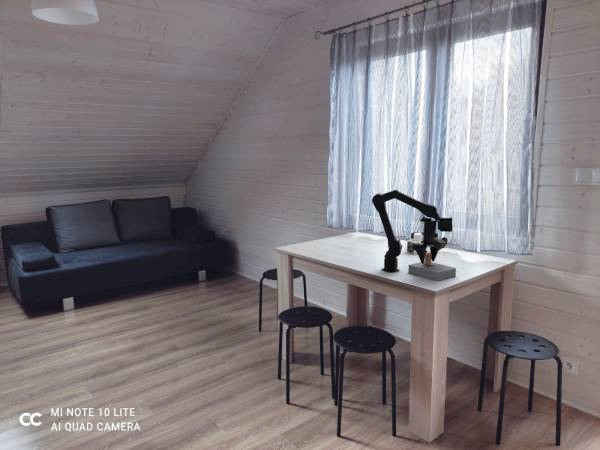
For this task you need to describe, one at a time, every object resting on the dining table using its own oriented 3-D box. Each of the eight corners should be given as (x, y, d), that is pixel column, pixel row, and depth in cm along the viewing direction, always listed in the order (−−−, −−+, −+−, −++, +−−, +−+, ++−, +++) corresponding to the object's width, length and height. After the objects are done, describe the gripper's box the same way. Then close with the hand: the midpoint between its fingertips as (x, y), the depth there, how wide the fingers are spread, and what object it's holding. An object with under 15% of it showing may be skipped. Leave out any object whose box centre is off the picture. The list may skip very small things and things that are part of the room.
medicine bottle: (406, 252, 263) (407, 232, 261) (416, 251, 265) (417, 231, 263) (413, 254, 256) (414, 234, 254) (424, 253, 259) (425, 233, 256)
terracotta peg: (428, 274, 216) (429, 254, 214) (422, 273, 219) (423, 253, 217) (431, 273, 218) (432, 253, 216) (426, 272, 220) (427, 252, 219)
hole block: (436, 281, 205) (437, 272, 205) (408, 272, 219) (408, 264, 218) (455, 276, 213) (456, 268, 213) (426, 268, 227) (427, 260, 226)
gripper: (430, 235, 203) (428, 269, 206) (456, 231, 214) (453, 263, 216) (411, 232, 212) (410, 263, 215) (436, 228, 223) (435, 258, 225)
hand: (427, 262), depth 217 cm, fingers open, 7 cm apart
